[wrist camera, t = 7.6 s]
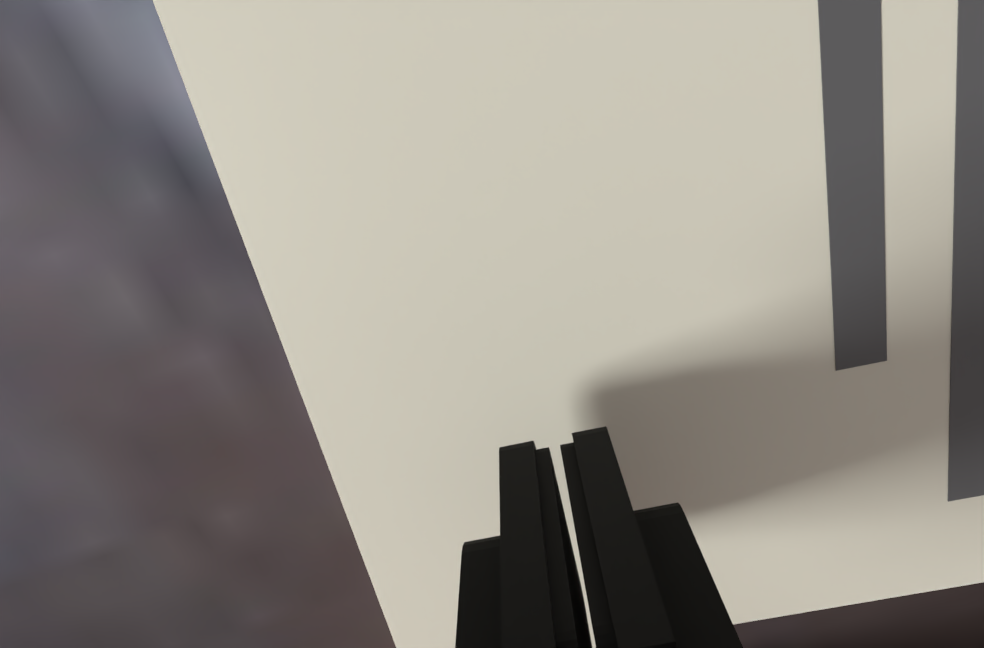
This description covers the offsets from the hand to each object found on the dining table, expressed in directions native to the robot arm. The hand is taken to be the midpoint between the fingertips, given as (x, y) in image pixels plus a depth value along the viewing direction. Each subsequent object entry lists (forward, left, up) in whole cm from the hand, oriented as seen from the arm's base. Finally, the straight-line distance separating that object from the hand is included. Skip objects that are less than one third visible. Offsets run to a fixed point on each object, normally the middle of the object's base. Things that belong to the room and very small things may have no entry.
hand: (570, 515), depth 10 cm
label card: (-4, +3, -1) cm, 5 cm away
